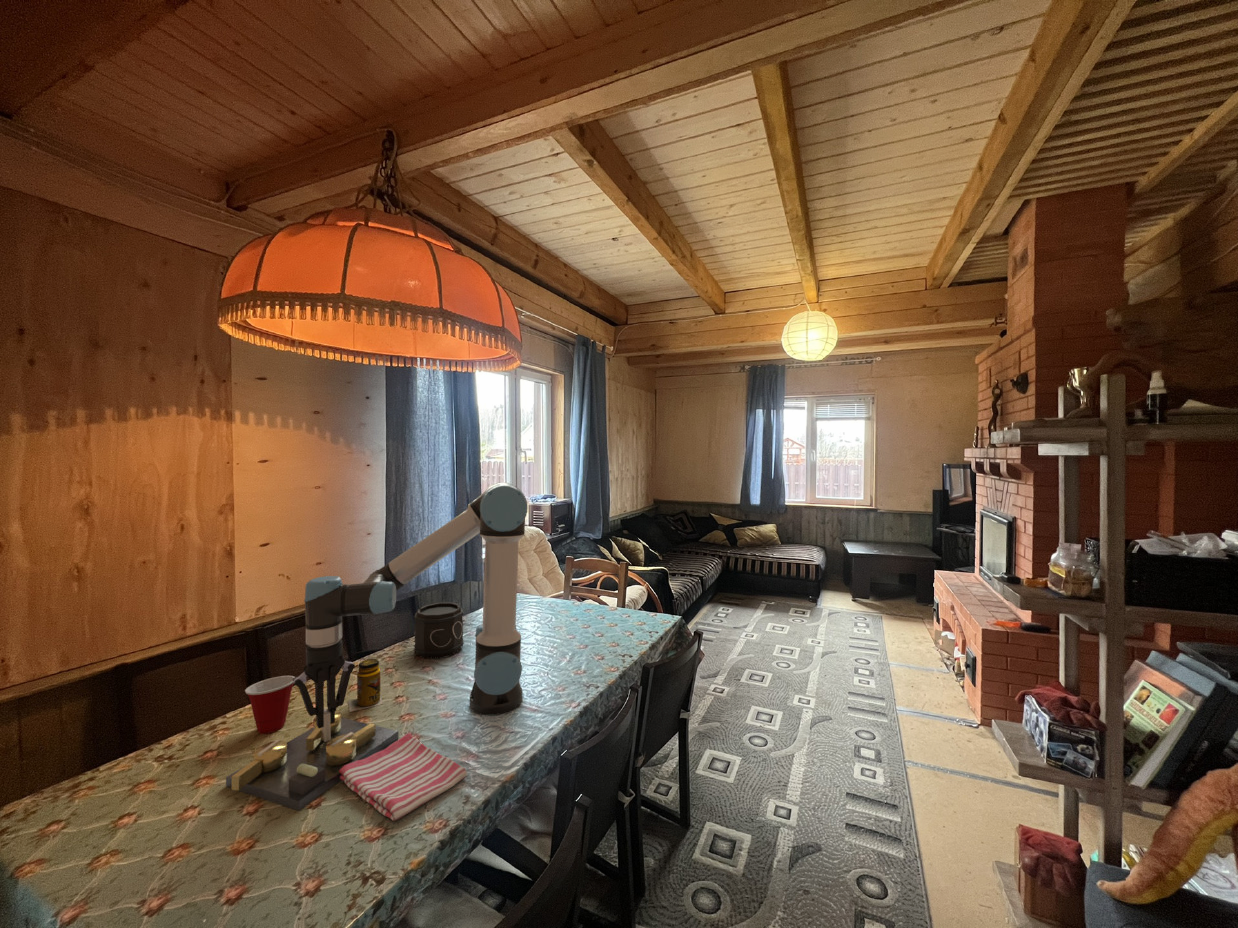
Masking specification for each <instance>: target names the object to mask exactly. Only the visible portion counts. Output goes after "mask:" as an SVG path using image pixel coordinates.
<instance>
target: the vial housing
mask: <svg viewBox="0 0 1238 928" xmlns="http://www.w3.org/2000/svg"><path fill="white" fill-rule="evenodd" d="M323 780H325V768H323V767H319V766H316V765H312V764H311V765H307V764H300V765H299V766H298V767H297V774H296V775H294V776H293V777H291V778H289V791H292V792H295V793H298V794H301V795H303V794H305V793H306V792H307V791H309V790H310V789H312V788H313V787H315V786H316V785H318V784H319V783H320V782H322V781H323Z"/></svg>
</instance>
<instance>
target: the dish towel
mask: <svg viewBox="0 0 1238 928" xmlns="http://www.w3.org/2000/svg"><path fill="white" fill-rule="evenodd" d="M339 772H340V773H341V774H342V775H341V776H340V779H341V781H342V782H344V784H345V786H347V787H348V788H349V789H350V790H351V791H353V792H354V793H356V794H358V795H359V797H360V798H362V800H363V801H365V802H367V803H368V804H370V805H372V806H373V807H374V809H375V810H377V811H378V813H380V814H381V815H383V816H384V817H387V818H389V819H391V820H392V821H397V820H399V819H401V818H402V817H405V816H406V815H407V814H410V813H411V812H412V811H414V810H416V809H417V808H420V807H421V806H422V805H424V804H426V803H428V802H429V801H431V800H433V799H434V798H436V797H438V796H440V795H441V794H443V793H445V792H446V791H447V790H450V789H452V787H454V786H455V785H457V784H458V783H459V782H461V781H462V780H463V779H464V780H465V779H466V778H467V775H468V772H467V770H466V769H465V768H464V766H461V765H459V764H458V763H457V762H455V761H454V760H452V759H451V758H449V757H446V756H445V755H441V754H440V753H439V752H437V751H436V750H434V749H431V748H430V747H427V746H425V745H424V744H423V743H422V742H421V741H420V740H419V739H418V738H416V737H414V736H412V733H411V732H407V733H406V734H404V735H402V736H401V738H398V740H396V741H395V742H393V743H392V744H391V745H389V746H388V747H387V748H385V749H384V750H382V751H379V752H377V753H375V754H373V755H371V756H369V757H367V758H365V759H362V760H358V761H355V762H352V763H349V764H347V765H344V766H343V767H342V768H341V769H340V770H339Z"/></svg>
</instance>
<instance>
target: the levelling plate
mask: <svg viewBox="0 0 1238 928" xmlns="http://www.w3.org/2000/svg"><path fill="white" fill-rule="evenodd" d="M369 724H370V723H366V722H361V721H357V720H353V719H349V718H344V717H341V729H340V730H339V731H338V732H336V733H334V734H332V735H331V740H332V739H333V738H335V737H338V736H341V735H347V734H349V733H350V732H352V733H356V732H358V731H359V730H361V729H362V728H364V727H365V726H367V725H369ZM312 732H313V727H312V728H311V729H309V730H307V731H305V732H303V733H301V734H300V735H298V736H296V737H294V738H292V739H291V740H289V741H286V742H287V761H286V762H285V763H284V764H283V765H282V766H280V767H278V768H276V769H274V770H272V771H268V772H262V773H261V774H259V775H258V776H257V777H255V778H254V779H253V780H252V781H250V782H249V783H248V784H246V785H245V786H244V787H242V788H241V789H240V790H237V791H238V792H242V793H244V794H248V795H250V796H254V797H256V798H260V799H263V800H265V801H269V802H272V803H274V804H277V805H281V806H283V807H287V808H290V809H292V810H295V811H298V812H299V811H301V810H302V809H303V808H305V807H307V806H308V805H309V804H311V803H313V801H315V800H316V799H318V798H319V797H320V796H322V795H323V794H324V793H326V792H327V791H328V790H330V789H332V788H333V787H334V786H336V785H337V784H338V783H340V782H341V781H342V780H341V779H340V776H341V775H342V774H341V773H340V772H339V770H340V769H341V768H342V767H343V766H344V765H347V764H349V763H352V762H355V761H358V760H362V759H365V758H367V757H369V756H371V755H373V754H375V753H377V752H379V751H382V750H384V749H386V748H387V747H388V746H390V745H391V744H393V743H394V742H396V741H398V740H399V730H395V729H391V728H388V727H387V728H386V727H382V726H379V725H375V736H374V737H373V738H371V739H370V740H368V741H367V742H365V743H364V744H362V745H361V746H359V747H358V748H356V755H355V757H354V758H353V759H352V760H350V761H348V762H346V763H344V764H340V765H328V764H327V763H326V744H327V743H328V742H329V741H330V740H328V741H326V742H324V740H323V739H322V741H321V742H320V743H319V744H318V746H317V747H316V748H315V749H314V750H310V751H306V739H307V738H308V737H309V735H310V734H311V733H312ZM300 764H307V765H311V764H312V765H316V766H319V767H323V768H325V780H323V781H322V782H320V783H319V784H318V785H316V786H315V787H313V788H312V789H310V790H309V791H307V792H306V793H305V794H303V795H301V794H298V793H295V792H292V791H289V778H291V777H293V776H294V775H296V774H297V767H298V766H299V765H300ZM244 767H245V766H244ZM244 767H241V768H240V769H238V770H236V771H234V772H233V773H230V774H229V775H227V776H226V777H225V787H227V788H229V787H230V789H232V776H233V775H234V774H236V773H237V772H238V771H240V770H241V769H242V768H244Z"/></svg>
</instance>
